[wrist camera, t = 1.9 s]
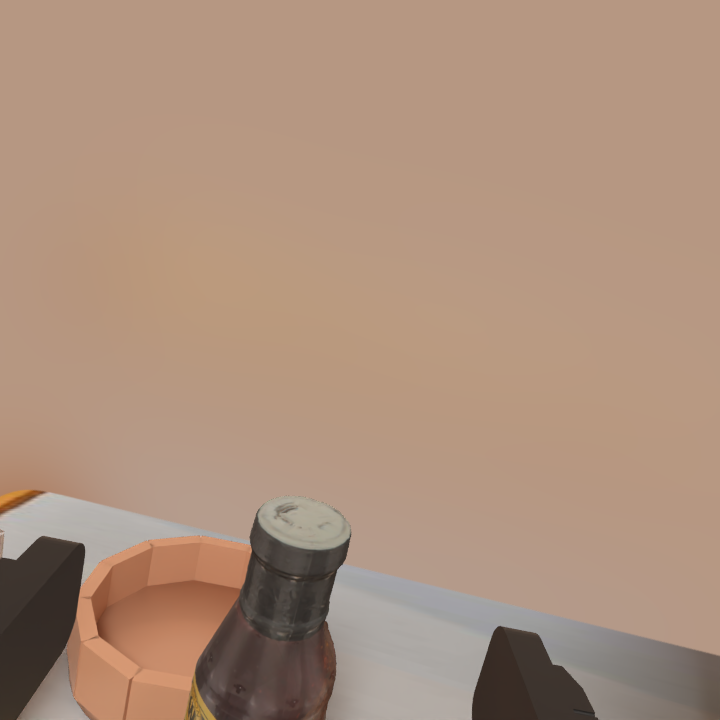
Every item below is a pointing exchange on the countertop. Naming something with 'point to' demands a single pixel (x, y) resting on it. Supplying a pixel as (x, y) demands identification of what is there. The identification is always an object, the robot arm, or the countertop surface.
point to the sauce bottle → (277, 621)
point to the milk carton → (1, 542)
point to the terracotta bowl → (151, 625)
